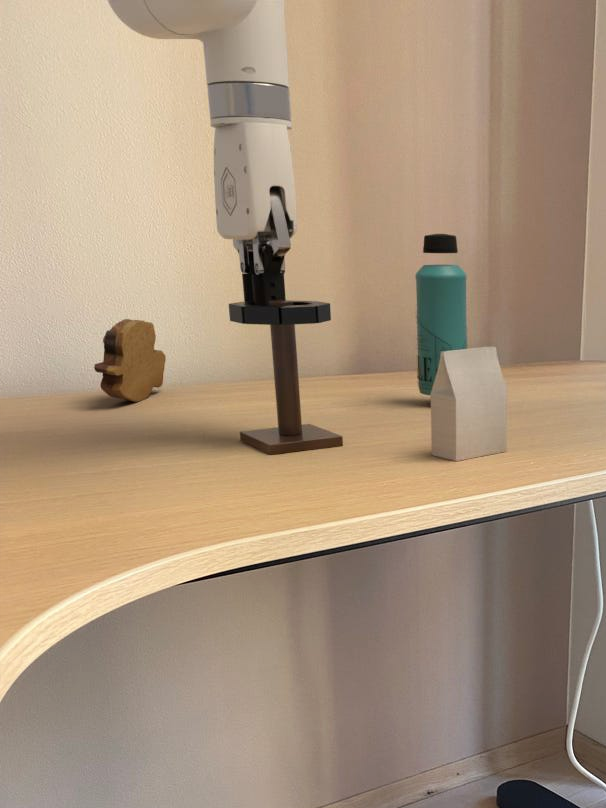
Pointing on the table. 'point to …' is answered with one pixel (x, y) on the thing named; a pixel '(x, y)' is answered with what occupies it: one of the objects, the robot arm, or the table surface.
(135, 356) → the wooden carving
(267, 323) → the ring
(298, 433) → the post
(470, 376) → the grey gabled box
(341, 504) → the table surface
